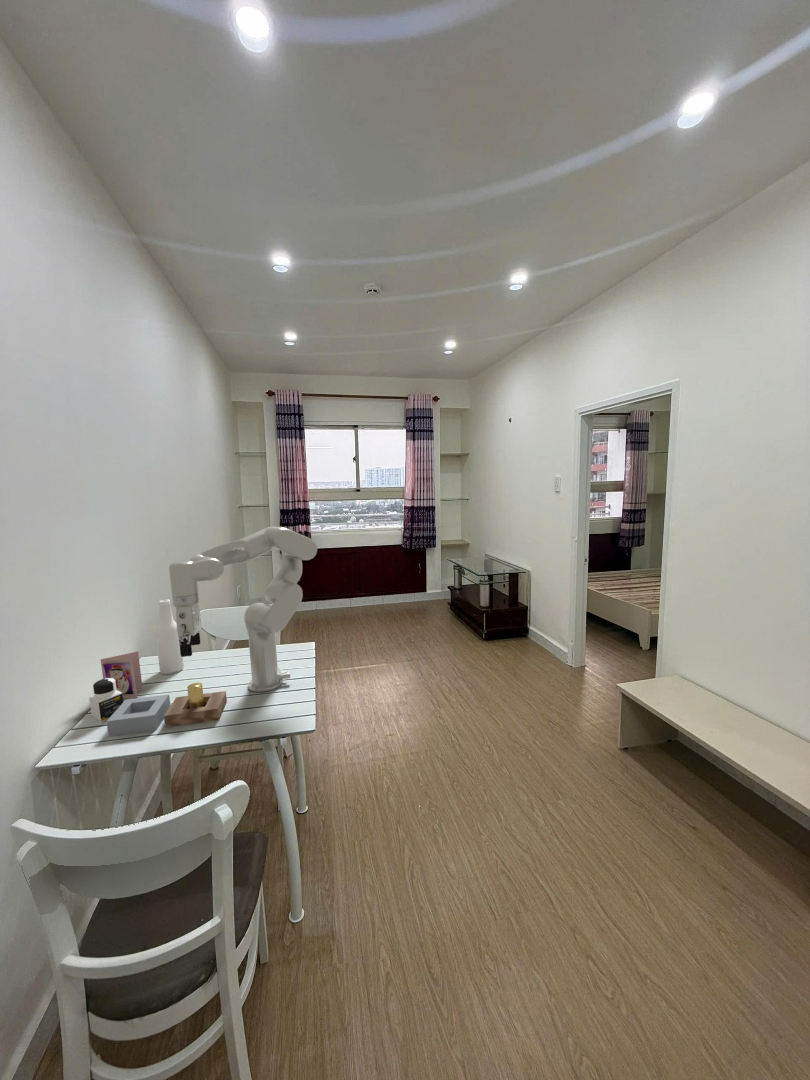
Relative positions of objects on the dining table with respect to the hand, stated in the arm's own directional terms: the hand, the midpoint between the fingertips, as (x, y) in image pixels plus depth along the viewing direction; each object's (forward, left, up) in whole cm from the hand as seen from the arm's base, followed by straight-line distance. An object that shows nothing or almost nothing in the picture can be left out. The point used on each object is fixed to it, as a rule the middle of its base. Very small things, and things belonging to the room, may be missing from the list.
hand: (191, 650), depth 136 cm
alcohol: (+20, -40, -22) cm, 50 cm away
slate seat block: (+17, 0, -22) cm, 28 cm away
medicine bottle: (+30, -8, -22) cm, 38 cm away
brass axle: (0, 0, -22) cm, 22 cm away
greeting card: (+30, -22, -22) cm, 43 cm away
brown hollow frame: (0, 0, -22) cm, 22 cm away
